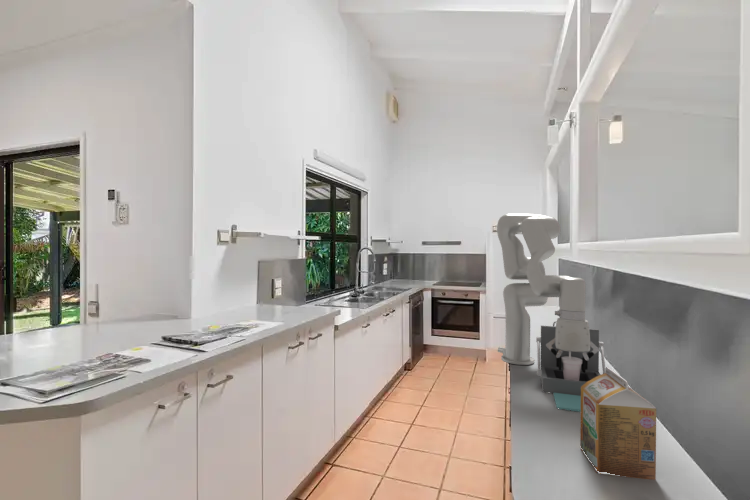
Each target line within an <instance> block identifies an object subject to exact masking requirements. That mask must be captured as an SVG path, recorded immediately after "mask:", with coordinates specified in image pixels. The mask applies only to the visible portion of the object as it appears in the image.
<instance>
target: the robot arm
mask: <svg viewBox="0 0 750 500" xmlns="http://www.w3.org/2000/svg"><path fill="white" fill-rule="evenodd" d="M496 234H497V238H498V240H499V243H500V246H501V251H502V253H501V254H502V261H503V269H504V274H505V277H506V278H507V279H509V280H512V281H528V282H513V283H509V284H507V285H505V287H504V289H503V291H502V295H503V302H504V303H503V304H504V310H505V339H504V342H505V343H504V344H505V347H504V346H498V347H497V352H498V353H501V354H502V355H500V356H501V359H500V360H501V361H502V362H504V363H507V364H512V365H518V366H519V365H520V366H527V365H529V366H530V365H533V364H534V363H535V359H534V358H533V357H531V316H530V314H529V313H528V311H527V309H526V308H527V307H542V306H545V304H546V303H547V302H548V298H559V309H558V310H555V311H554V315H555V316H558V317H557V318H556V321H557V322H556V323H555V326H556V329H555V337H554V338H553V339H551V340H550V341H549V342H548V343H546V346H547V348H548V349H549V350H550V351H551V352H552V353H553V354H554V355H555V356H556V367H558V368H559V370H562V358H561V354H562V352H563V351H572V352H581V353H582V355H583V358H582V372H583V373H585V370H587V369H588V360H589V359H590V358H591V357H592V356H593V355H594V354H595V353H597V352H598V351H599V352H600V347H599V348H598V347H597V346H596V345H595V344H593V343H592V342H591V341H590V331H589V329H590V325H589V320H587V319H586V281H585V279H584V278H581V277H572V276H570V275H563V274H562V275H556V274H553V275H552V274H551V275H550V274H549V275H546V271H545V269H546V268H545V265H544V263H543V262H544V261H545V260H547V259H549V258H551V257H552V256H553V255H554V254H555V251H556V247H555V245H554V243H553V241H552V240H554V239H557V238H558V237H559V236H560V234H561V226H560V223H559V221H558V220H557V219H556V218H555V217H552V216H547V215H543V214H538V213H535V214H534V213H506V214H504V215H502V216H500V217H499V219H498V221H497V225H496ZM517 235H522V236H523V238H524V242H525V244H526V246H527V249H528V251H529V254H530V256H526V255H525V249H524V245H523V243H522V242H521V240H520V239H519V238H518V237H517ZM554 343H555V346H556V348H557V351H556V350H555V349H554V348H553V347H552V345H553V344H554ZM590 346H591V347H592V348H593V349H592V350H591V351H590ZM586 352H588V353H586Z"/></svg>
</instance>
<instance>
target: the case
mask: <svg viewBox="0 0 750 500" xmlns="http://www.w3.org/2000/svg"><path fill="white" fill-rule="evenodd" d="M555 329H556V325H554V326H553V325H540V336H536V345H537V346H536V348H537V351H536V352H537V354H536V355H537V369H536V375H537V376H538V377H539V376H540V383H541V389H542V392H543V393H546V392H550V393H549V394H554V393H561V394H570V395H578V396H581V386H582V385H584V384H585V383H586V382H588V381H589V380H591V379H593V378H595V377H597V376H599V375H602V374H604V373H606V361H605V351H604V350H605V349H604V347H605V346H604V345H605V343H604V342H603V341H600V329H595V328H589V331H590V341H591V342H592V343H593V344H595V345H596V346H597V347H598V348H599V349H600V350H599V351H598V352H597V353H595V354H594V355H593V356H592V357H591V358H590V359H589V360H588V369H587V370H585V373H583V372H582V364H581V370H580V377H579V381H577V380H567V379H564V374H563V366H562V370H559V368H558V367H556V356H555V355H554V354H553V353H552V352H551V351H550V350H549V349H548V348H547V346H546V343H548V342H549V341H550V340H551V339H553V338H554V337H555ZM552 347H553V348H554V349H555V350H556V351H557V348H556V346H555V343H554V344H553V345H552ZM592 349H593V348H592V347H591V346H590V351H591V350H592ZM586 353H588V352H586ZM600 354H601V355H600ZM599 355H600V356H601V357H600V356H599ZM564 356H569V351H563V352H562V354H561V357H564ZM571 357H577V358H580V359H582V358H583V355H582V353H581V352H572V351H571ZM599 357H600V358H601V365H602V368H601V369H602V374H601V373H600V372H599V371H600V368H599V367H600V366H599V364H600V361H599V360H600V358H599Z"/></svg>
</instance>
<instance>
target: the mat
mask: <svg viewBox="0 0 750 500" xmlns="http://www.w3.org/2000/svg"><path fill="white" fill-rule="evenodd" d="M553 398H554V401H555V406H556V409H557V408H559V409H558V410H562V409H566V410H565V411H570V410H571V412H578V413H581V396H578V395H570V394H561V393H553Z"/></svg>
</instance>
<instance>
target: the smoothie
mask: <svg viewBox="0 0 750 500" xmlns="http://www.w3.org/2000/svg"><path fill="white" fill-rule="evenodd" d="M561 358H562V366H563V374H564V379H567V380H577V381H579V377H580V370H581V364H582V359H580V358H577V357H571V351H569V356H564V357H561Z"/></svg>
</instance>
